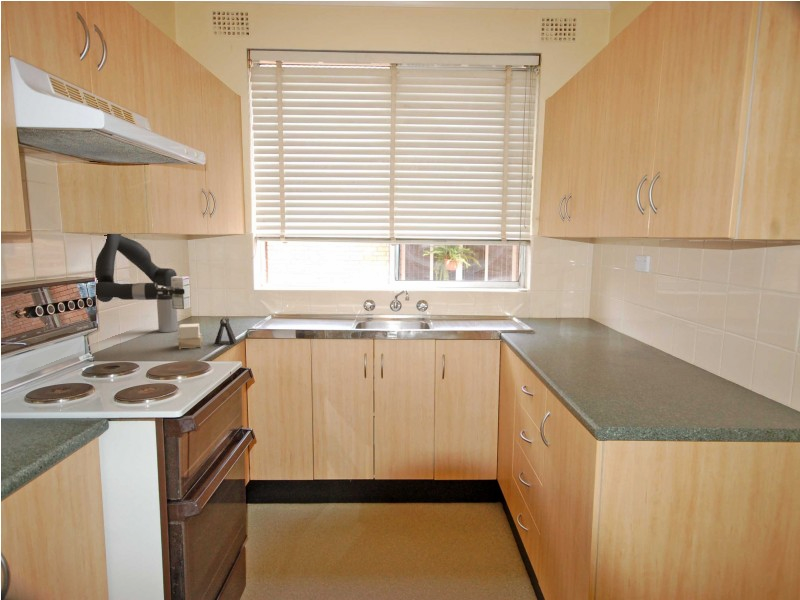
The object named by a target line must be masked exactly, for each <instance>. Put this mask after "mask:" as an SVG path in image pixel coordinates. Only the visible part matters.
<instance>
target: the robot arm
mask: <svg viewBox="0 0 800 600" xmlns="http://www.w3.org/2000/svg"><path fill="white" fill-rule="evenodd" d="M104 236H107V239H106V242H105V241H104V242H105V243H104V245H103V247H102V249H101V251H100V252H99V254H98V255H97V257H96V262H95V269H94V270H95V271H94V274H95V278H97V279H96V281H97V280H98V283H97V282H96V283H95V284H96V295H97V298H96V299H97V300H98V301H100V302H102V303H108V302H110V301H112V300H113V299H114V298H118V299H120V300H124V301H126V300H127V301H128V300H134V301H135V300H136V301H137V300H138V301H147V300H148V301H149V300H150V301H153V300H154V301H155V300H156V307H157V309H156V311H157V325H158V332H160V333H173V332H177V331H179V326H178V323H179V322H178V311H177V310H178V309H173V306H172V295H175V294H184V293H185V292H184V289H172V287H171V277H174V276H178V275H177V272H176V270H175V269H173V268H170V267H169V268H164V267H163V268H162V267H159V266H157V265H156V264H155V263H154V262H153V261H152V257H151V253H150V251H149V250H148V249H146V248H145V246H144V245H142V244H141V243H139V242H138V241H136V240H134V239H131V238H129V237H126V236H123V235H122V233H121V234H107V235H104ZM117 251H118V252H119V253H120V254H122V255H123V256H124V257H125V258H126V259H127V260H128V261H130V263H132V264H133V265H135V266H136V267H137V268H138V269H139V270H141V272H142V273H143V274H145V275H146V276H147V277H148V279H149V280H150V281H151V282H139V283H137V282H136V283H120V282H119V283H118V282H115V281H114V280H115V279H114V274H115V264H116V263H115V261H116V256H117ZM160 286H161V287H160Z"/></svg>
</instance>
